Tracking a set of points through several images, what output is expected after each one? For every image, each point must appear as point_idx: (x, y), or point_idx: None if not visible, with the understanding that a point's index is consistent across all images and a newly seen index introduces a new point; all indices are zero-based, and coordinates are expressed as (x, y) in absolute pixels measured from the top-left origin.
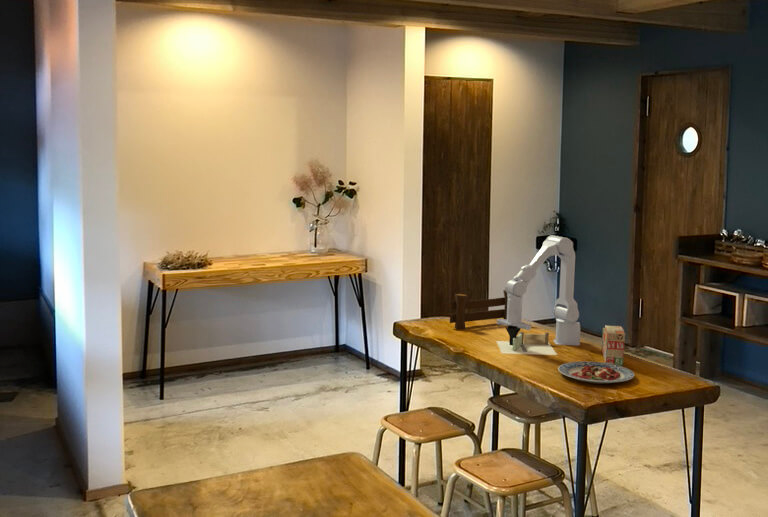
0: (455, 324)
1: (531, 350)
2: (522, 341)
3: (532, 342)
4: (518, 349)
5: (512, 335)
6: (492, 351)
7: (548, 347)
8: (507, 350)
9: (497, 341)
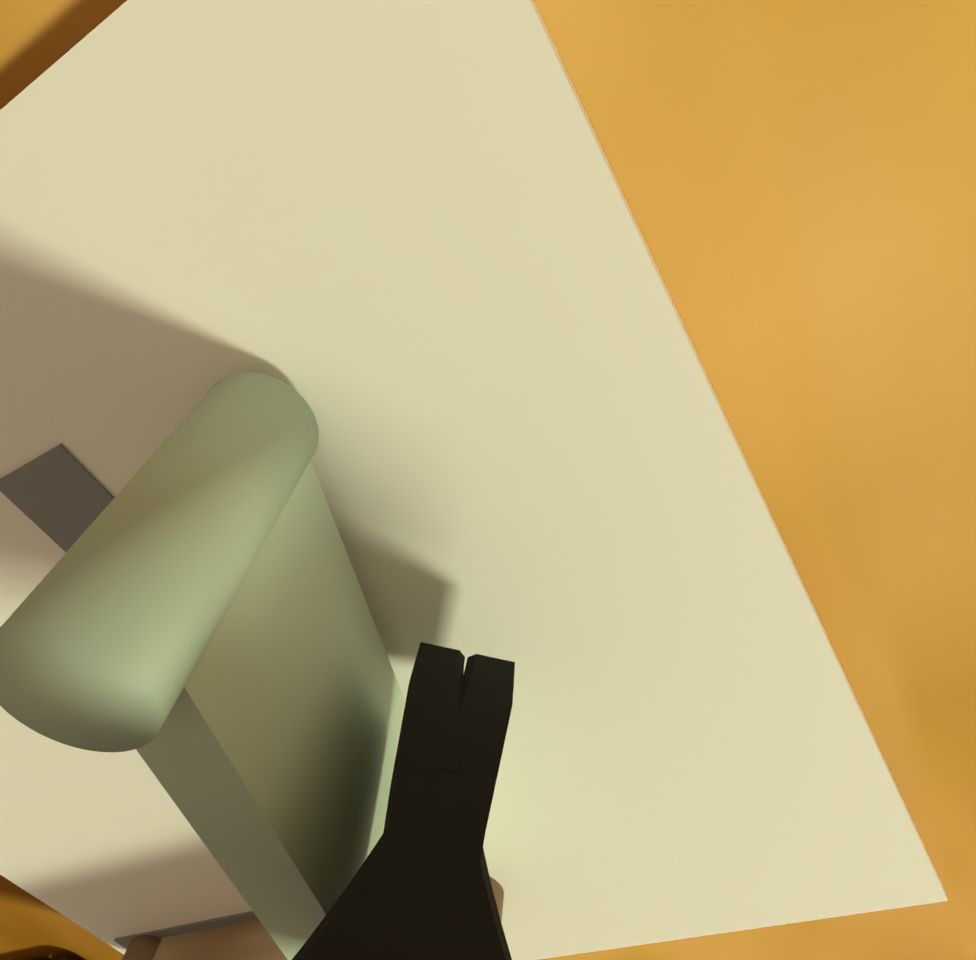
0: None
1: None
2: None
3: None
4: None
5: (337, 908)
6: (904, 54)
7: (11, 848)
8: (443, 346)
9: (917, 885)
